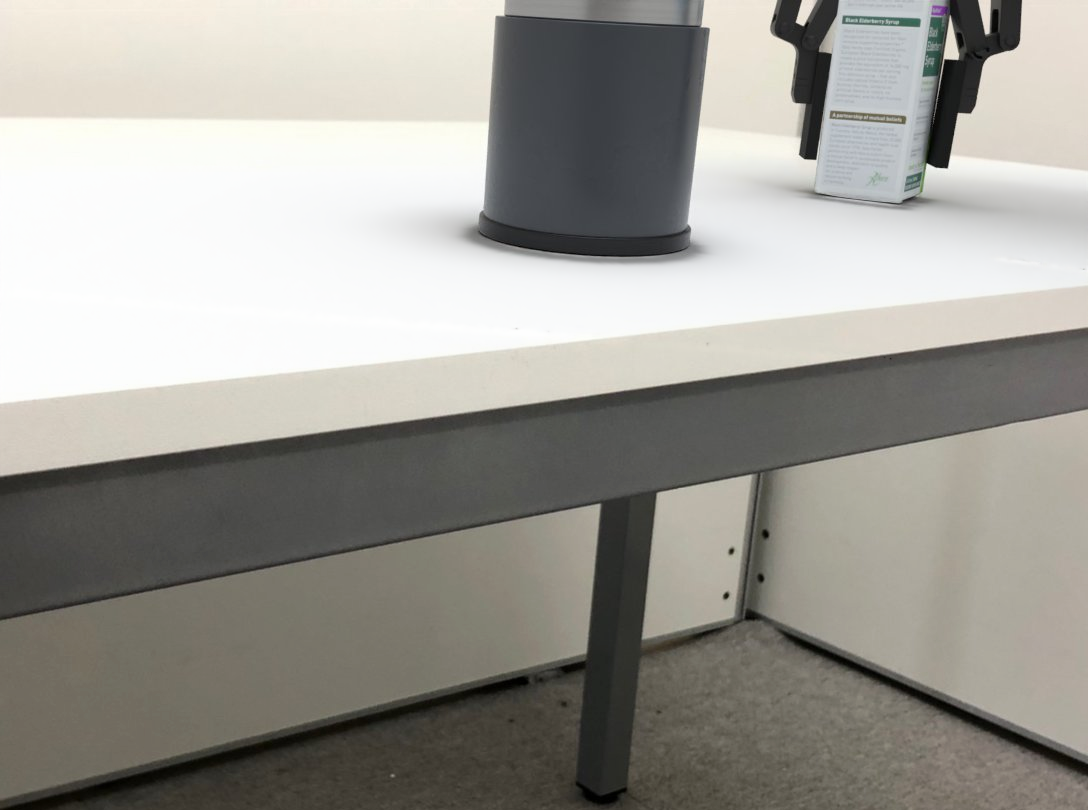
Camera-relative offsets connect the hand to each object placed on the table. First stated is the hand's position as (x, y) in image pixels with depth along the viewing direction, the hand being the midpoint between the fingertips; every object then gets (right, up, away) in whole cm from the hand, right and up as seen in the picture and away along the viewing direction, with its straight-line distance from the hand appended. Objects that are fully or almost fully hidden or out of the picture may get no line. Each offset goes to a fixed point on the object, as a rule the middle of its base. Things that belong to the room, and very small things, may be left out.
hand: (872, 161), depth 85 cm
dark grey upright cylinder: (-21, -9, -20) cm, 30 cm away
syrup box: (0, -2, +1) cm, 2 cm away
